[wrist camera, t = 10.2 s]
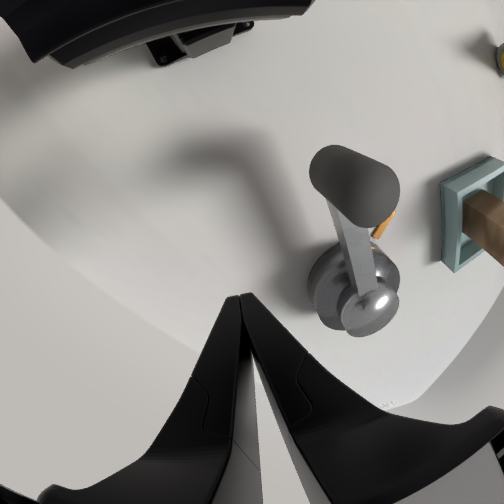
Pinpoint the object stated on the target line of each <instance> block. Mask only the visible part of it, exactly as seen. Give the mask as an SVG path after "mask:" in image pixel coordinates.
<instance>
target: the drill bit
mask: <svg viewBox="0 0 504 504" xmlns="http://www.w3.org/2000/svg"><path fill="white" fill-rule="evenodd" d="M497 48H498V50H497V54H496V59H497V64H498V67H499V69H500V71H501V72H502V74H503V75H504V43H503V44H502V45H500V47H497Z"/></svg>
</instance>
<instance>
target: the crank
mask: <svg viewBox="0 0 504 504" xmlns="http://www.w3.org/2000/svg"><path fill="white" fill-rule="evenodd" d="M309 175H310V180H311V183H312V185H313V186H314V188H315V189H316V190H317V191H318V192H320V193H321V194H322V195H323V196H324V197H325V198H326V200H327V204H328V207H329V210H330V213H331V216H332V219H333V222H334V226H335V229H336V232H337V236H338V239H339V242H340V246H341V249H342V253H343V257H344V260H345V264H346V268H347V271H348V275H349V279H350V283H351V285H350V286H348V287H347V288H346V289H345V290H344V292H343V293H342V294H341V296H340V298H339V300H338V302H337V306H336V310H337V314H338V316H339V318H340V320H341V322H342V324H343V325H344V327H345V329H346V331H347V333H348V334H349V335H351V336H354V337H364V336H368V335H371V334H373V333H375V332H377V331H379V330H380V329H382V328H383V327H384V326H386V325H387V324H388V323H389V322H390V321H391V319H392V318H393V317H394V315H395V314H396V312H397V310H398V307H399V298H398V296H397V294H396V293H395V292H394V290H393V289H392V288H391V287H390V285H389V284H388V283H387V282H386V280H385V279H384V278H382V277H380V276H376V271H375V265H374V259H373V254H372V248H371V243H370V238H369V233H368V228H372V227H375V226H378V225H380V224H382V223H383V222H384V221H386V220H387V219H388V218H389V217H390V216H391V214H392V213H393V212H394V210H395V208H396V206H397V204H398V201H399V196H400V185H399V181H398V178H397V176H396V174H395V173H394V171H393V170H392V169H391V168H390V167H388V166H386V165H384V164H382V163H380V162H378V161H376V160H374V159H371V158H369V157H367V156H365V155H362V154H360V153H358V152H355V151H353V150H351V149H348V148H346V147H343V146H340V145H330V146H326V147H324V148H322V149H321V150H320V151H318V152H317V153H316V155H315V156H314V157H313V159H312V161H311V164H310V169H309Z"/></svg>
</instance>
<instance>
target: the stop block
mask: <svg viewBox="0 0 504 504" xmlns="http://www.w3.org/2000/svg"><path fill="white" fill-rule="evenodd" d="M462 233H464V234H465V235H466V236H468V237H469V238H470V239H471V240H473V241H474V242H475V243H477V244H478V245H479V246H480V247H481V248H483V249H484V250H485V251H486V252H487V253H489V254H490V255H491V256H492V257H493V258H494V259H496V260H497V261H498V262H499V263H500V264H501V265H502V266H503V267H504V201H502V200H500V199H499V198H497V197H495V196H494V195H492V194H490V193H488V192H487V191H485V190H483V189H482V190H481V191H479V192H478V193H476V194H474V195H473V196H471V197H469V198H468V199H466V200H464V201H463V225H462Z"/></svg>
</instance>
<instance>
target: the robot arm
mask: <svg viewBox="0 0 504 504" xmlns="http://www.w3.org/2000/svg"><path fill="white" fill-rule="evenodd" d="M314 2H315V0H0V16H1V17H2V18H3V19H4V20H5V21H6V23H7V24H8V25H9V26H10V28H11V29H12V30H13V31H14V33H15V34H16V35H17V36H18V38H19V40H20V41H21V43H22V45H23V47H24V49H25V51H26V52H27V54H28V56H29V58H30V60H31V61H32V62H33V63H37V62H38V61H40V60H41V59H43V58H44V57H46V56H49V57H50V58H51V59H53V60H54V61H55V62H57V63H59V64H61V65H64V66H66V67H69V68H72V69H74V68H76V67H78V66H80V65H87V64H91V63H94V62H97V61H99V60H101V59H104V58H106V57H108V56H111V55H113V54H116V53H118V52H121V51H123V50H126V49H129V48H132V47H134V46H137V45H140V44H143V43H146V44H147V46H148V48H149V50H150V51H151V53H152V55H153V57H154V59H155V61H156V62H157V64H158V65H159V66H162V67H166V66H169V65H171V64H173V63H175V62H177V61H179V60H181V59H183V58H185V57H187V56H188V57H189V58H196V57H198V56H200V55H202V54H204V53H207V52H209V51H211V50H213V49H216V48H218V47H221V46H223V45H226V44H228V43H230V41H231V39H232V37H233V36H236V35H239V34H241V33H244V32H247V31H249V30H251V29H252V28H253V26H254V21H258V20H274V19H284V18H289V17H290V16H291V15H297V16H301V15H303V14H304V13H305V12H306V11H307V10H308V9H309V8H310V6H311V5H312V4H313V3H314ZM243 22H248V23H249V26H248V27H245V26H243V25H242V23H243ZM165 56H166V57H168V60H167V61H166V62H164V63H163V62H161V59H162V58H163V57H165ZM252 355H253V357H252ZM253 358H254V361H255V364H256V367H257V370H258V373H259V375H260V378H261V381H262V384H263V386H264V389H265V392H266V394H267V397H268V400H269V402H270V405H271V407H272V410H273V413H274V415H275V418H276V421H277V423H278V426H279V429H280V431H281V433H282V436H283V438H284V441H285V444H286V446H287V449H288V451H289V454H290V456H291V459H292V461H293V464H294V466H295V469H296V471H297V473H298V476H299V478H300V481H301V483H302V485H303V488H304V490H305V492H306V495H307V497H308V499H309V501H310V504H504V410H503V409H500V408H497V407H493V406H488V407H486V408H485V409H483V410H482V411H481V412H479V413H478V414H477V415H475V416H474V417H473V418H471V419H470V420H468V421H466V422H464V423H460V424H454V425H447V424H439V423H434V422H428V421H423V420H418V419H413V418H408V417H403V416H399V415H395V414H391V413H388V412H386V411H383V410H381V409H379V408H378V407H376V406H374V405H373V404H371V403H370V402H369V401H367V400H366V399H364V398H363V397H362V396H360V395H359V394H357V393H356V392H355V391H353V390H352V389H351V388H349V387H348V386H347V385H345V384H344V383H342V382H341V381H340V380H339V379H337V378H336V377H335V376H334V375H332V374H331V373H330V372H329V371H328V370H327V369H325V368H324V367H323V366H322V365H321V364H320V363H319V362H318V361H317V360H316V359H315V358H314V357H313V356H312V355H311V354H310V353H308V351H307V350H306V349H305V348H304V347H303V346H302V345H301V344H300V343H299V342H298V341H297V340H296V339H295V338H294V336H293V335H292V334H291V333H290V332H289V331H288V330H287V329H286V328H285V327H284V326H283V325H282V324H281V323H280V322H279V321H278V320H277V319H276V318H275V317H274V315H273V314H272V313H271V312H270V311H269V310H268V309H267V308H266V307H265V306H264V305H263V304H262V303H261V302H260V301H259V300H258V298H257V297H256V296H255V295H254V294H253V293H251V292H249V293H245V294H241V295H240V297H239V296H238V295H235V296H230V297H227V298H226V300H225V302H224V304H223V306H222V308H221V311H220V313H219V315H218V317H217V319H216V322H215V324H214V326H213V328H212V330H211V333H210V335H209V337H208V339H207V341H206V343H205V346H204V348H203V350H202V352H201V354H200V357H199V359H198V361H197V363H196V365H195V368H194V370H193V372H192V374H191V376H192V377H190V378H189V381H188V383H187V385H186V387H185V389H184V392H183V393H182V395H181V397H180V399H179V401H178V403H177V405H176V407H175V408H174V410H173V411H172V413H171V415H170V416H169V418H168V419H167V421H166V423H165V424H164V426H163V428H162V429H161V431H160V432H159V434H158V436H157V437H156V439H155V440H154V442H153V443H152V445H151V446H150V448H149V449H148V450H147V451H146V453H145V454H144V455H143V456H141V457H140V458H139V459H138V460H136V461H135V462H133V463H132V464H130V465H128V466H127V467H125V468H123V469H122V470H120V471H118V472H116V473H115V474H113V475H111V476H109V477H107V478H106V479H104V480H102V481H100V482H98V483H96V484H94V485H92V486H90V487H88V488H84V489H80V490H72V489H68V488H65V487H62V486H59V485H55V484H52V485H51V486H49V487H48V488H46V489H45V490H44V491H42V492H41V494H40V495H39V496H38V498H37V501H36V500H34V499H31V498H29V497H26V496H24V495H22V494H20V493H17V492H15V491H13V490H11V489H9V488H7V487H5V486H3V485H1V484H0V504H263V496H262V484H261V472H260V471H261V470H260V456H259V443H258V428H257V414H256V399H255V384H254V369H253Z"/></svg>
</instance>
